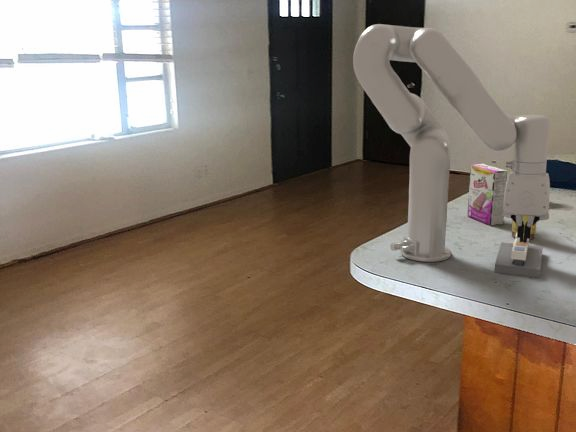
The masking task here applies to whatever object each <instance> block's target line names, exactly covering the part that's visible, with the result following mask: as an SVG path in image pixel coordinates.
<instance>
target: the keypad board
mask: <svg viewBox="0 0 576 432" xmlns="http://www.w3.org/2000/svg"><path fill="white" fill-rule="evenodd" d="M513 244H514V242H513V243H510V242H502V241H501V242H500V247H499V249H498V253H497V256H496V259H495V262H494V269H493V270H494V273H497V274H499V273H500V274H505V275H506V274H507V275H514V276H522V277H530V278H540V277H541V269H542V259H543V248H544V247H543V246H542V245H541V246H537V245H532V244H531V245H530V244H528V250H527V255H526V260H523V265H514V264H513V263H514V259H511V254H512V248H513Z"/></svg>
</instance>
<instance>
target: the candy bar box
mask: <svg viewBox="0 0 576 432" xmlns="http://www.w3.org/2000/svg"><path fill="white" fill-rule="evenodd" d="M507 177H508V170H506V169H503V168H499V167H496V166H492V165H488V164H485V163H477V164H471V165H470V171H469V189H468V200H467V201H468V204H467V206H468V207H467V215H466V216H467V218H468V217H469V218H471V219H474V220H476V221H479V222H480V223H483V224H485V225H487V226H490V227H492V226H499V225H503V224H504V216H502V213H503V210H504V209H503V205H504V195H505V187H506V181H507Z"/></svg>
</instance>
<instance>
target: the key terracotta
mask: <svg viewBox="0 0 576 432" xmlns="http://www.w3.org/2000/svg"><path fill="white" fill-rule="evenodd" d="M528 245H529V243H523V242H514V241H513V247H523V248H528ZM526 255H527V254H526Z"/></svg>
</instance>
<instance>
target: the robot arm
mask: <svg viewBox="0 0 576 432" xmlns="http://www.w3.org/2000/svg"><path fill="white" fill-rule="evenodd" d="M352 59H353V60H352V64H353V66H352V67H353V71H354V74H355V76H356V79H357V81H358V83H359V85H360V86H361V87H362V89H363V90H364V92H365V93H366V95H367V96H368V98H369V99H370V101H371V103H372V104H373V105H374V106H375V107H376V109H377V111H378V112H379V114H380V115H381V117H383V120H384V121H385V122H386V124H387V125H388V127H389V129H391V130H392V131H393V132H395V133H396V134H399V135H401V136H402V138H403V139H404V140H405V142H406V143H407V144H408V146H409V147H410V151H409V180H408V181H409V185H408V208H407V209H408V213H407V214H408V215H407V235H405V236H403V240H401V241H399V242H391V243H390V246H389V247H390V250H391V251H392V252H394V251H399V250H400V254H401V255H402V256H403V257H405V258H406V259H409V260H412V261H416V262H425V263H434V262H441V261H445V260H448V259H449V258H451V256H452V251H451V249H450V248H449V247H448V246H446V235H447V217H448V216H447V215H448V200H449V198H448V197H449V183H450V181H449V180H450V167H451V156H452V154H451V153H452V148H451V147H452V146H451V139H450V137H449V135H448V133H447V132H446V130H445V129H444V127H443V126H442V125H441V123H440V122H439V121H438V119H437V118H436V117H435V115H434V114H433V113H432V111H431V110H430V108H429V107H428V106H427V104H426V103H425V102H424V100H423V99H422V98H421V97H420V96H419V95H417V94H415V93H412V92H410V91H409V89H408V88H407V87H406V85H405V84H404V83H403V82H402V80H401V78H400V77H399V75H398V74H397V72H395V70H394V68H393V67H392V65H391V63H390V62H391V61H397V62H408V63H416V64H417V66H418V67H419V68H420V69H421V70H422V71H423V72H424V74H426V75H425V76H427V77H428V78H429V80H431V81H430V82H432V83H433V84H434V85H435V87H436V89H438V91H440V93H441V94H442V95H443V96H444V97H445V99H446V100H447V102H448V103H449V104H450V105H451V106H452V107H453V108H454V109H455V110H456V112H457V113H458V114H459V115H460V116H461V117H462V118H463V120H464V121H465V122H466V123H467V125H468V126H469V127H470V128H471V130H473V132H474V133H475V134H476V135H477V136H478V138H479V139H480V140H481V142H482V143H484V144H485V146H486V147H487V148H488V149H491V150H493V151H499V152H500V151H505V150H507V149H509V148H510V147H512V146H513V153H512V160H511V161H506V164H505V168H509V169H511V171H509V172H508V173H507V181H506V187H505V195H504V205H503V209H504V210H503V213H502V216H504V217H505V218H508V219H511V221H512V220H513V221H514V222H515V223H516V224H517V226H518V231H517V238H520V242H525V243H526V242H527V238H528V239H529V240H531V239H530V234H531V227H532V225H534V224H535V223H536V224H537V223H538V222H540V221H547V220H549V219H550V213H549V210H550V195H551V193H550V192H551V190H550V189H551V188H550V187H551V183H550V176H549V175H550V174H549V173H548V172H547V161H548V149H549V141H550V140H549V139H550V128H551V125H550V124H551V121H550V119H549V117H548V116H545V115H542V114H523V115H516V114H515V115H514V114H508V113H505V112H504V111H503V110H502V109H501V107H500V106H499V105H498V104H497V103H496V102H495V100H494V99H493V97H492V96H491V95H490V94H489V93H488V91H487V90H486V88H485V87H484V85H483V84H482V81H481V80H480V78H479V76H478V75H477V74H476V72H475V71H474V70H473V69H472V67H470V65H469V64H468V63H467V62H466V61H465V60H464V59H463V57H462V56H461V55H460V54H459V53H458V51H457V50H456V49H455V47H453V45H452V44H451V43H450V41H448V39H447V38H446V37H445V36H444V34H443V33H442V32H441V31H440V30H438V29H437V28H434V27H416V26H415V27H412V26H403V25H391V24H382V23H377V24H372V25H370V26H368V27H367V28H366V29H365V30H364V31H362V33H361V34H360V36H359V37H358V40H357V42H356V44H355V47H354V51H353V57H352ZM522 215H523V216H529V218H528V221H527V222H526V224H525V228H524V222H523V220H522ZM523 237H524V241H523Z"/></svg>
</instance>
